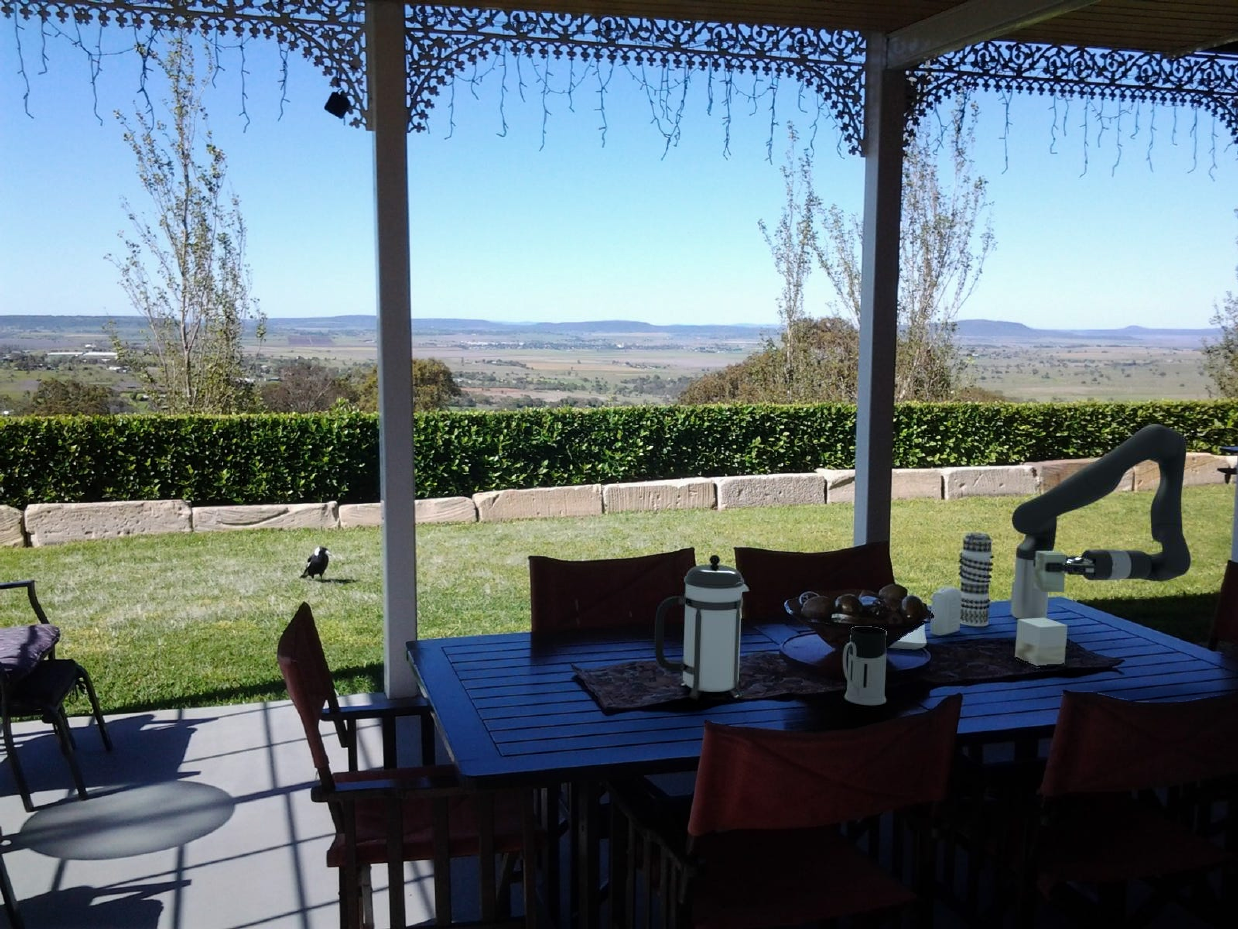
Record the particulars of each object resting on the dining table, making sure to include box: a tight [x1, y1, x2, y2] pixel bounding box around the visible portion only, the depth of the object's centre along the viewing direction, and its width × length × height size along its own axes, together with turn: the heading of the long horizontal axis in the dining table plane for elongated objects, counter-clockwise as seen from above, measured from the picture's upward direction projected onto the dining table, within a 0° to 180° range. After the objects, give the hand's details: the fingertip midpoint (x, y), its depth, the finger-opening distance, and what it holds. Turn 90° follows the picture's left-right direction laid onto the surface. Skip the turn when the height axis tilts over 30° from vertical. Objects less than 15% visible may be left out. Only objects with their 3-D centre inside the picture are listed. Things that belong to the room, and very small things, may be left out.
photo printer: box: [929, 585, 962, 636], centre depth 294 cm, size 10×4×12 cm, turn 134°
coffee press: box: [654, 554, 750, 700], centre depth 236 cm, size 17×16×30 cm
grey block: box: [1016, 618, 1068, 648], centre depth 267 cm, size 8×8×5 cm
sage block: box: [1034, 550, 1067, 593], centre depth 266 cm, size 5×5×9 cm
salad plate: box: [890, 623, 927, 650], centre depth 284 cm, size 21×21×3 cm
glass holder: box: [842, 626, 887, 706], centre depth 233 cm, size 9×14×15 cm, turn 138°
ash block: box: [1014, 638, 1067, 666], centre depth 268 cm, size 8×8×5 cm
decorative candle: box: [958, 532, 995, 627], centre depth 305 cm, size 9×9×25 cm
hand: (1040, 565), depth 265 cm, fingers closed on sage block, 5 cm apart
